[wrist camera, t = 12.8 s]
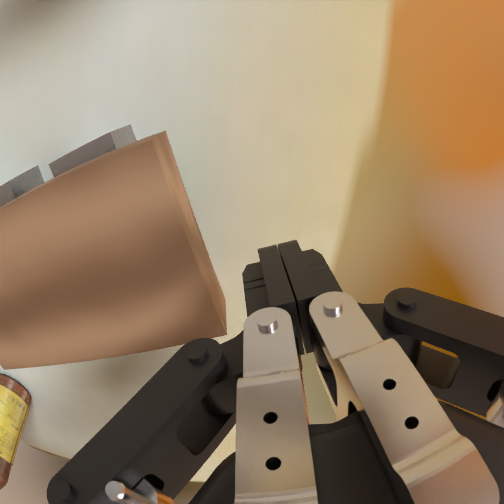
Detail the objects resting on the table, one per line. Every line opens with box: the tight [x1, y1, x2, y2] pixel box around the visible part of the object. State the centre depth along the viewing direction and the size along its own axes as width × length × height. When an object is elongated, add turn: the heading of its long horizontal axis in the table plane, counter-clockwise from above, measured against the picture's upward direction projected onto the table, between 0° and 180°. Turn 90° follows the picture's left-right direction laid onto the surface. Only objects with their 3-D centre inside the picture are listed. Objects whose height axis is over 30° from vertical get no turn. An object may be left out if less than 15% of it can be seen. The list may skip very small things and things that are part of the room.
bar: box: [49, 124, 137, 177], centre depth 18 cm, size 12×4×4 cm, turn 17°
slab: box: [0, 131, 227, 370], centre depth 15 cm, size 10×18×3 cm, turn 105°
